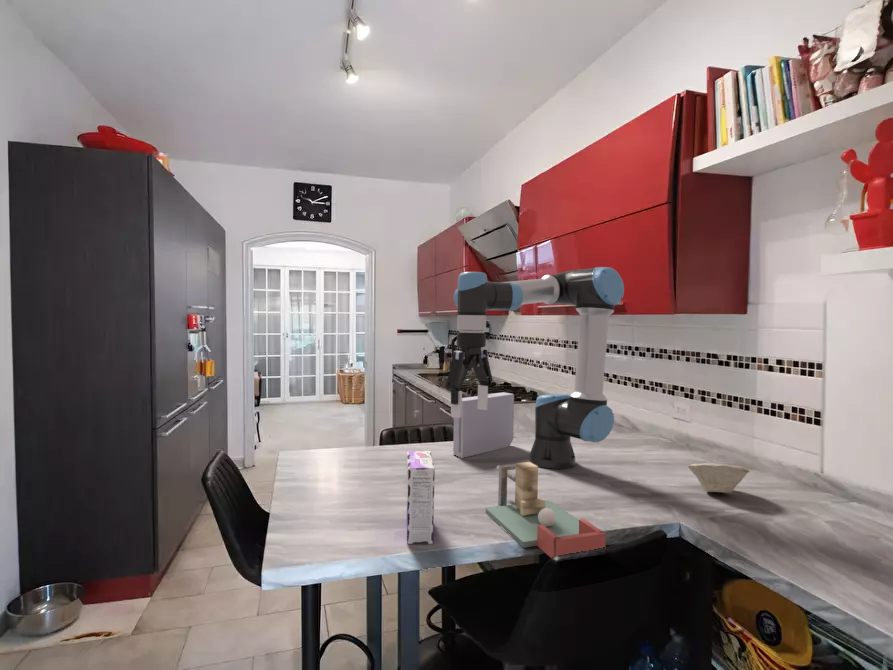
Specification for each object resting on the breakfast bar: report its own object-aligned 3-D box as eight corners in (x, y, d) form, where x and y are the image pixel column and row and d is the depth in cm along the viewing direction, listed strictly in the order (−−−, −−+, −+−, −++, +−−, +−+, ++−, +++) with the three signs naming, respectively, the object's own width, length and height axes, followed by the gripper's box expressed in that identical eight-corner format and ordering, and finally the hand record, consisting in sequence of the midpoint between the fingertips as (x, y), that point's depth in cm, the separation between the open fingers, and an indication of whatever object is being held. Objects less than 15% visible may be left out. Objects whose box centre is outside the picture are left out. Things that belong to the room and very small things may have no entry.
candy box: (406, 518, 118) (406, 450, 118) (430, 518, 119) (431, 450, 118) (406, 545, 105) (407, 467, 104) (434, 544, 105) (435, 467, 105)
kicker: (508, 485, 138) (509, 447, 138) (545, 512, 119) (546, 468, 119) (488, 487, 136) (489, 449, 136) (522, 515, 117) (523, 470, 117)
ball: (550, 521, 115) (550, 504, 115) (559, 528, 111) (559, 510, 111) (534, 523, 114) (534, 506, 114) (543, 530, 110) (543, 512, 110)
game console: (450, 455, 175) (451, 398, 175) (501, 443, 194) (502, 392, 193) (462, 458, 171) (463, 400, 171) (513, 445, 190) (514, 393, 189)
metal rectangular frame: (524, 502, 131) (525, 463, 130) (527, 504, 129) (528, 465, 129) (498, 505, 128) (499, 465, 128) (500, 507, 127) (501, 467, 126)
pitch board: (549, 505, 129) (549, 500, 129) (596, 536, 110) (596, 531, 110) (485, 512, 123) (485, 507, 123) (523, 547, 104) (523, 542, 104)
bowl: (741, 488, 144) (742, 454, 144) (754, 505, 131) (755, 467, 131) (684, 482, 149) (685, 449, 149) (691, 497, 136) (692, 461, 135)
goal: (583, 538, 109) (583, 518, 109) (605, 554, 102) (605, 533, 101) (537, 545, 105) (537, 525, 105) (556, 562, 98) (556, 540, 98)
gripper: (481, 331, 142) (480, 405, 143) (432, 331, 121) (430, 418, 122) (505, 331, 138) (504, 408, 139) (458, 332, 117) (456, 422, 118)
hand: (469, 413), depth 130 cm, fingers open, 13 cm apart
